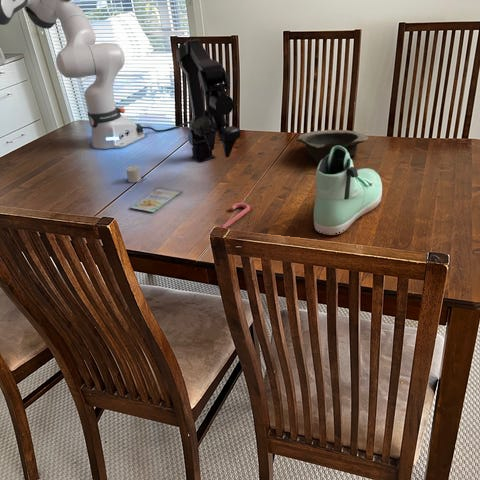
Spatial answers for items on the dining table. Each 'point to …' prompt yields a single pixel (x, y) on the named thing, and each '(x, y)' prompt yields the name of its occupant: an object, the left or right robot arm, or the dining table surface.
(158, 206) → the baking ingredient package
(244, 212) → the candy cane
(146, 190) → the dining table surface
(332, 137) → the stone bowl
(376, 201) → the sneaker
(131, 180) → the canister
